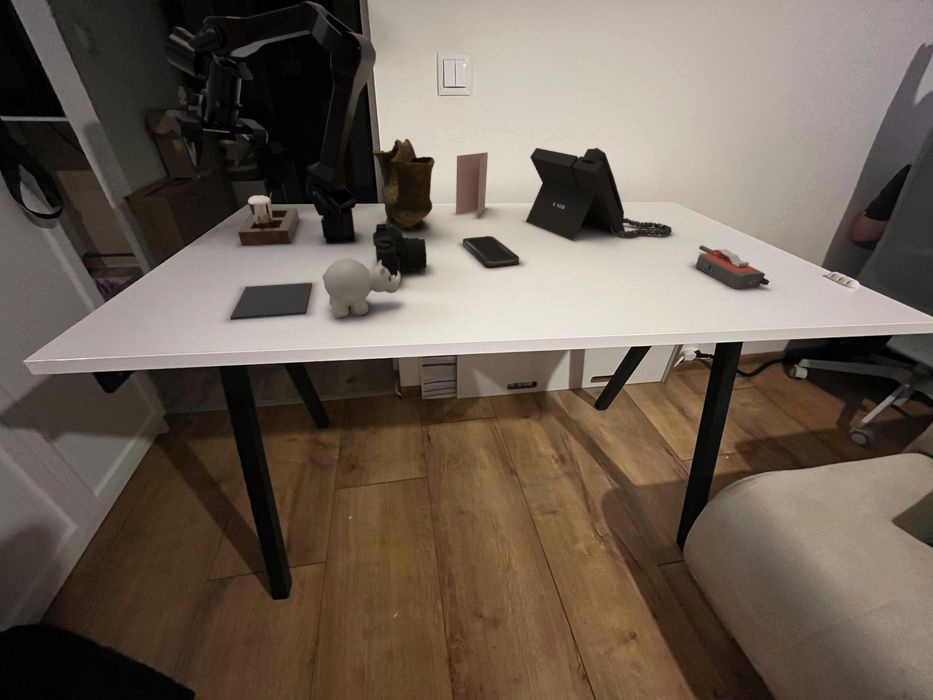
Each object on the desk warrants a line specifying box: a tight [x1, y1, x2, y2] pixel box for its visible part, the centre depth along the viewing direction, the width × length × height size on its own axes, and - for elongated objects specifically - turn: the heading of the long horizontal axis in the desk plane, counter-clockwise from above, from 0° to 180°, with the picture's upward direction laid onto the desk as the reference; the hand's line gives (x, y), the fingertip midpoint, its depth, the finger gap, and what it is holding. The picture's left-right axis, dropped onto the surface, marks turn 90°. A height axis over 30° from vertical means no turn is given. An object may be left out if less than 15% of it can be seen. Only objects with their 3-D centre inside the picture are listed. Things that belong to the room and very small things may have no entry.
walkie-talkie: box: [694, 245, 770, 290], centre depth 84 cm, size 9×4×20 cm
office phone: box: [525, 147, 672, 242], centre depth 102 cm, size 29×28×20 cm
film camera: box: [372, 223, 428, 277], centre depth 77 cm, size 15×10×9 cm, turn 9°
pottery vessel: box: [372, 137, 436, 232], centre depth 97 cm, size 25×11×20 cm, turn 24°
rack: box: [237, 207, 300, 246], centre depth 95 cm, size 10×18×3 cm, turn 13°
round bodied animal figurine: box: [322, 258, 402, 318], centre depth 64 cm, size 7×12×8 cm, turn 109°
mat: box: [229, 282, 313, 320], centre depth 67 cm, size 11×11×1 cm
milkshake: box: [247, 192, 274, 229], centre depth 90 cm, size 4×5×10 cm
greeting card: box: [455, 152, 489, 219], centre depth 110 cm, size 11×7×15 cm, turn 133°
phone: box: [462, 235, 520, 268], centre depth 88 cm, size 8×1×15 cm
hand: (217, 166), depth 90 cm, fingers open, 9 cm apart
